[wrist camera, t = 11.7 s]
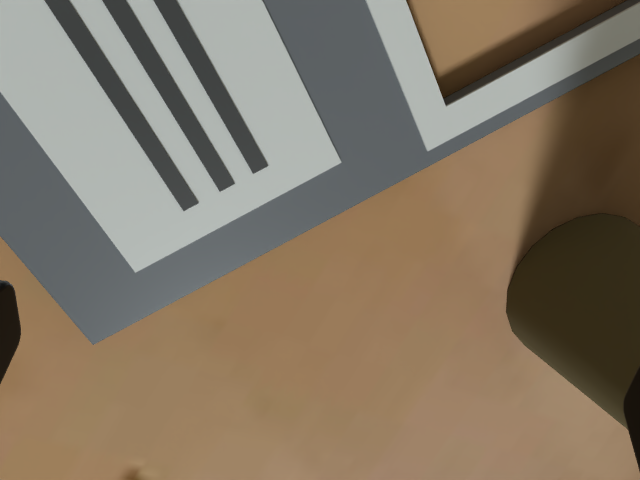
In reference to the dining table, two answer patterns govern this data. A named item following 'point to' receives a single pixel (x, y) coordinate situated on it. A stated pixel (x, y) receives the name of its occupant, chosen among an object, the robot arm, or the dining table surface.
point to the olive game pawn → (583, 305)
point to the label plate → (228, 131)
